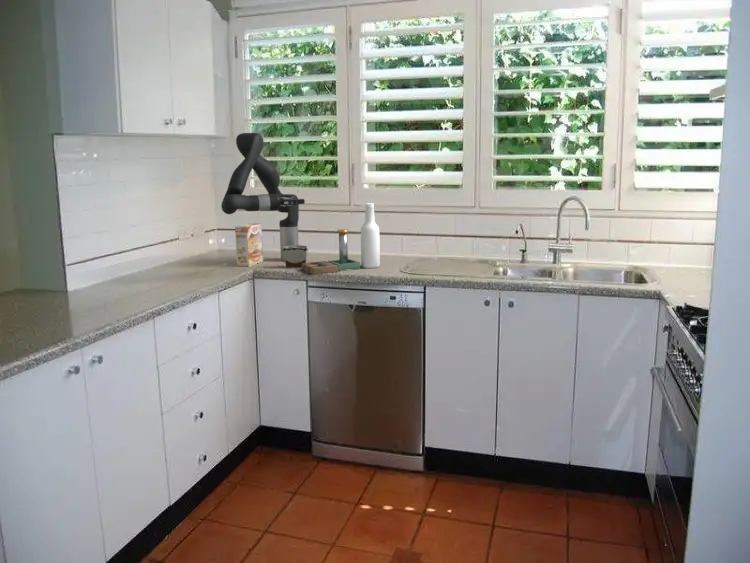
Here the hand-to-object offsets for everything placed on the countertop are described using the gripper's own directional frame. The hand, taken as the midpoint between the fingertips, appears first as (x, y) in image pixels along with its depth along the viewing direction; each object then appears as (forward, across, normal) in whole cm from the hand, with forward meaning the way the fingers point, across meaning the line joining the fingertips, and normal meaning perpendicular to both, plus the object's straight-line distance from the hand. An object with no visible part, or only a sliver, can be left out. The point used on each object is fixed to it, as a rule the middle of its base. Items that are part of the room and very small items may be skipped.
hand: (301, 200), depth 308 cm
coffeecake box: (-17, +29, +32) cm, 47 cm away
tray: (+18, -6, +32) cm, 37 cm away
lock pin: (+18, -6, +31) cm, 37 cm away
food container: (0, +9, +32) cm, 33 cm away
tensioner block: (+5, -8, +32) cm, 33 cm away
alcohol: (+30, -10, +32) cm, 45 cm away
